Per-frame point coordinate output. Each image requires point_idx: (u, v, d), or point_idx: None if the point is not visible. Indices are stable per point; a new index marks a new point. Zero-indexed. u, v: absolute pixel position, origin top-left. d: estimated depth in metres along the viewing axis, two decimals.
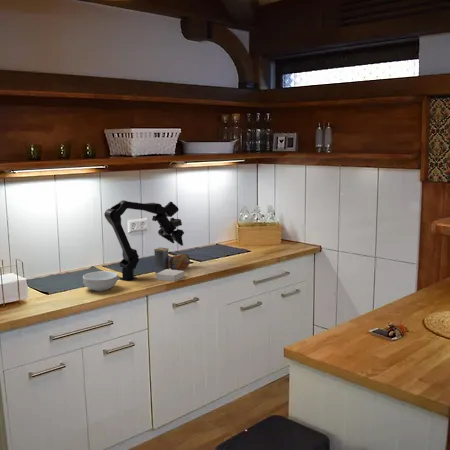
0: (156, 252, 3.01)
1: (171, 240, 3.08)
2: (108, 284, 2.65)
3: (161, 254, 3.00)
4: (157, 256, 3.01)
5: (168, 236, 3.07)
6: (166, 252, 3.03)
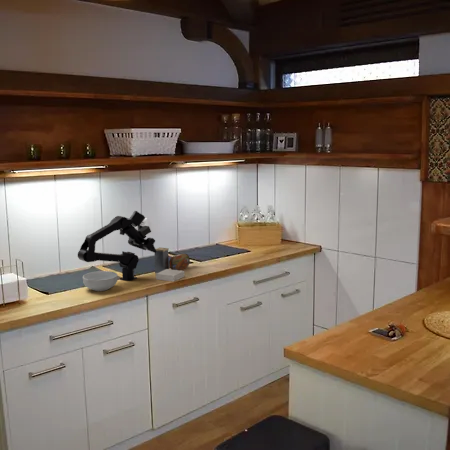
0: (156, 252, 3.01)
1: (143, 247, 3.00)
2: (108, 284, 2.65)
3: (161, 254, 3.00)
4: (157, 256, 3.01)
5: (139, 244, 2.98)
6: (166, 252, 3.03)
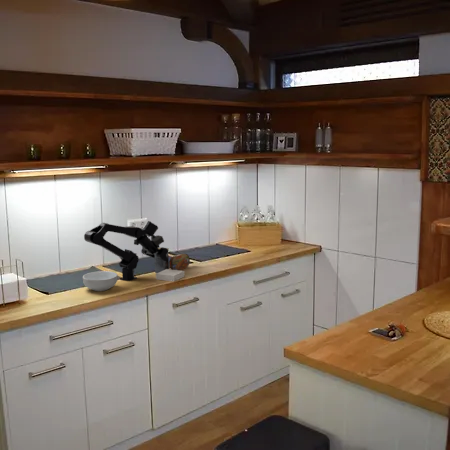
0: None
1: None
2: (108, 284, 2.65)
3: None
4: None
5: (153, 254, 3.04)
6: None
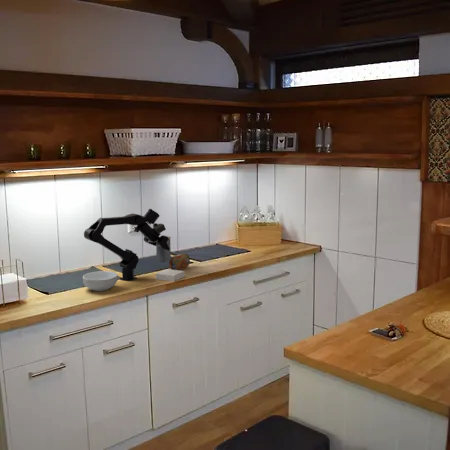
0: None
1: None
2: (108, 284, 2.65)
3: None
4: None
5: (155, 242, 3.02)
6: (168, 240, 3.00)
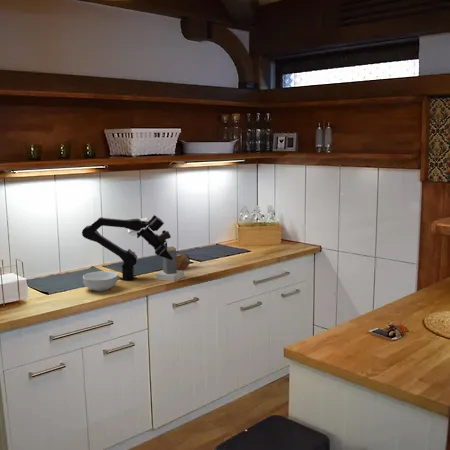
0: None
1: None
2: (108, 284, 2.65)
3: None
4: None
5: None
6: (173, 252, 2.88)
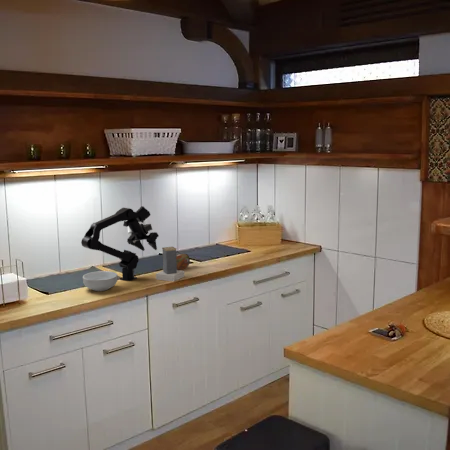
0: (163, 251, 2.90)
1: (141, 247, 2.98)
2: (108, 284, 2.65)
3: (165, 253, 2.87)
4: (163, 255, 2.90)
5: (138, 243, 2.97)
6: (173, 252, 2.88)
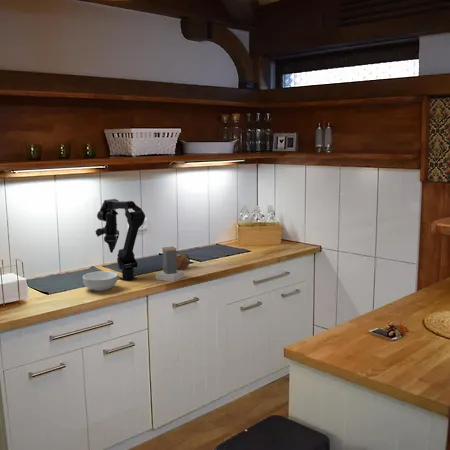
0: (163, 251, 2.90)
1: None
2: (108, 284, 2.65)
3: (165, 253, 2.87)
4: (163, 255, 2.90)
5: None
6: (173, 252, 2.88)
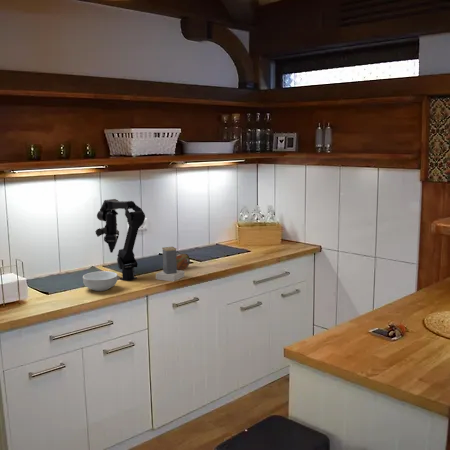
0: (163, 251, 2.90)
1: None
2: (108, 284, 2.65)
3: (165, 253, 2.87)
4: (163, 255, 2.90)
5: None
6: (173, 252, 2.88)
